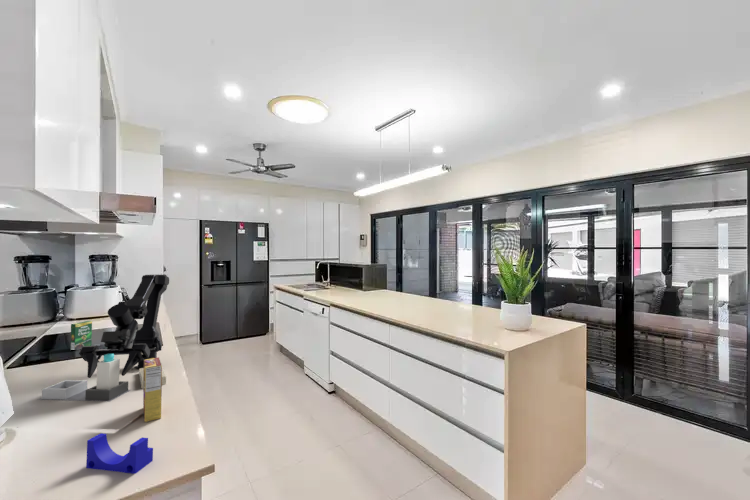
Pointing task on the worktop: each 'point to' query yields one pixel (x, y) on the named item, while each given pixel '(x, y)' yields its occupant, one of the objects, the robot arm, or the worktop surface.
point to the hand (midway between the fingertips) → (105, 376)
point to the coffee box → (81, 335)
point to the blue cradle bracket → (109, 460)
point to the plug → (108, 372)
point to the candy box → (152, 389)
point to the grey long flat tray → (82, 391)
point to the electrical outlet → (141, 375)
